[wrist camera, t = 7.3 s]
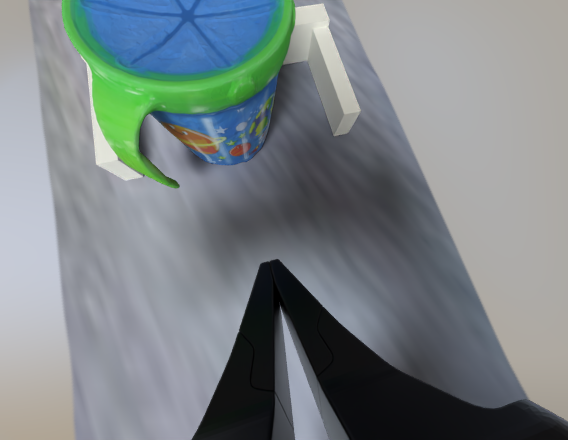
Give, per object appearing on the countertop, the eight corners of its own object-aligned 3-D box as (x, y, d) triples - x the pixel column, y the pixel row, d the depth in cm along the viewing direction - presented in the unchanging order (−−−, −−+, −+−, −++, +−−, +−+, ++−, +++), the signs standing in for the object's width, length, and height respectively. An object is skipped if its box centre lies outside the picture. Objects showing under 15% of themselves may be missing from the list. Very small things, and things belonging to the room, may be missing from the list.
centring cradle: (348, 133, 20) (390, 61, 13) (125, 180, 18) (26, 125, 11) (314, 42, 22) (334, -63, 15) (112, 74, 20) (22, -31, 13)
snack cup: (230, 51, 21) (192, -136, 11) (316, 101, 20) (357, -51, 10) (128, 166, 18) (-51, 49, 8) (225, 229, 17) (161, 187, 7)
